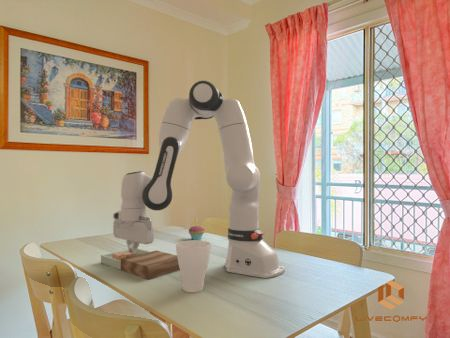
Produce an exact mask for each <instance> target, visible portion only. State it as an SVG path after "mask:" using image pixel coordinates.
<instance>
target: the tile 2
mask: <svg viewBox="0 0 450 338" xmlns="http://www.w3.org/2000/svg"><path fill="white" fill-rule="evenodd" d="M134 255H135V254H133V253H129V252H127V253H123V254H121V258H126V257H130V256H134Z"/></svg>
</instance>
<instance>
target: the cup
mask: <svg viewBox="0 0 450 338" xmlns="http://www.w3.org/2000/svg"><path fill="white" fill-rule="evenodd" d="M175 248H176V250H175V252H176V255H177V258H178V264H179V268H180V270H179V271H180V277H181V281H182V290H183V292H186V293H191V294H193V293H195V294H196V293H200V292H202V291H203V289H204V284H205V283H204V282H205V277H206V273H207V270H208V266H209V262H210V261H209V260H210V255H211V251H212V250H211V249H212V243H211V242H210V241H207V240H192V239H189V240H181V241H179V242H177V243H175Z"/></svg>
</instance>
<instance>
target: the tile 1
mask: <svg viewBox="0 0 450 338" xmlns="http://www.w3.org/2000/svg"><path fill="white" fill-rule="evenodd" d="M118 252H119V253H115V252H114V253H115V254H112V258H114V259H117V260H120V261H121V254H123V252H120V251H118Z"/></svg>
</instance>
